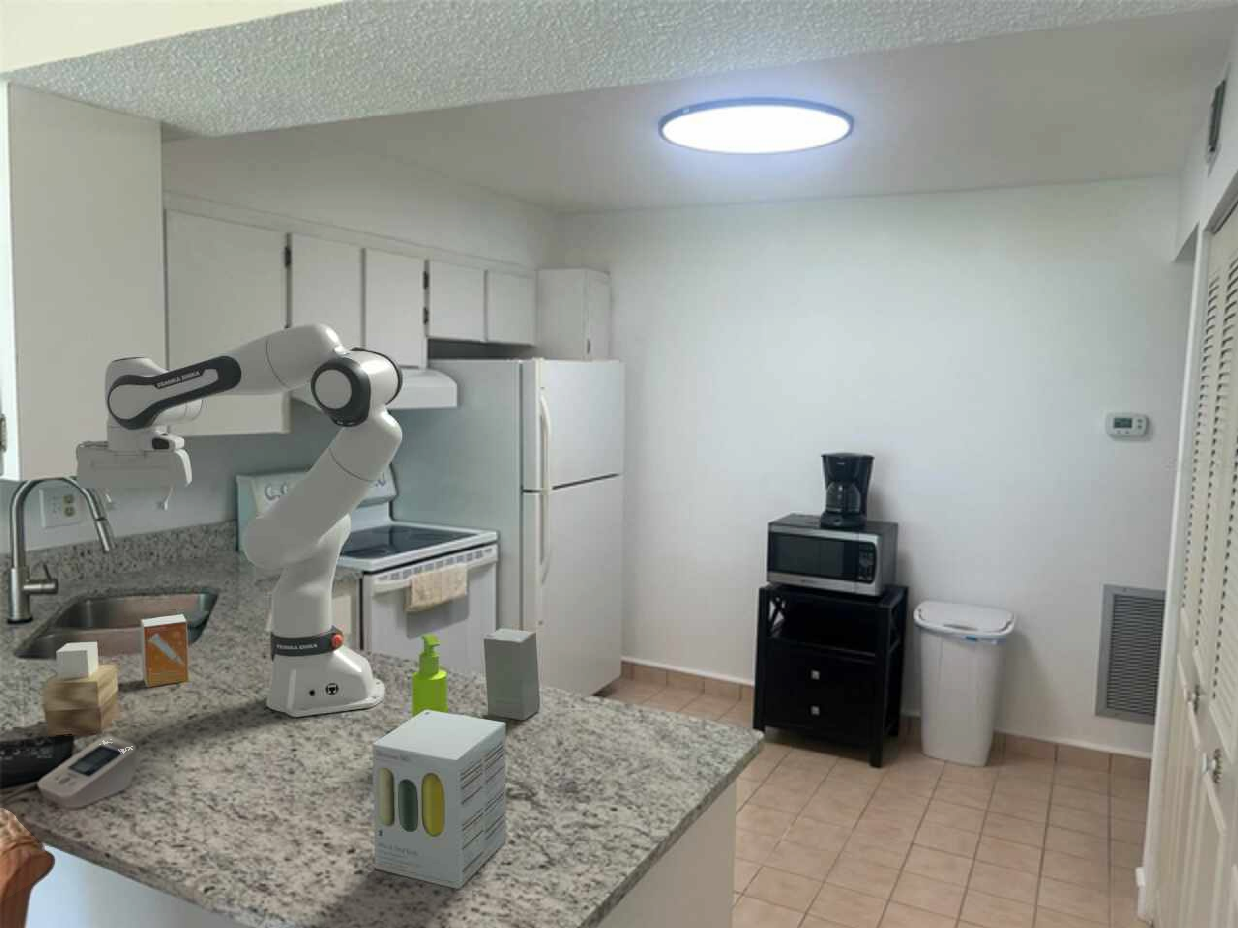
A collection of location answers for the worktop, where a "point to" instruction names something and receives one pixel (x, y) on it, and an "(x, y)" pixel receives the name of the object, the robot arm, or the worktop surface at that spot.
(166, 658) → the small box
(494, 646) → the skincare box
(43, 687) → the tower top
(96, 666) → the cube
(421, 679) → the soap dispenser
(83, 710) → the block
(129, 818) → the worktop surface
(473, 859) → the supplement box
